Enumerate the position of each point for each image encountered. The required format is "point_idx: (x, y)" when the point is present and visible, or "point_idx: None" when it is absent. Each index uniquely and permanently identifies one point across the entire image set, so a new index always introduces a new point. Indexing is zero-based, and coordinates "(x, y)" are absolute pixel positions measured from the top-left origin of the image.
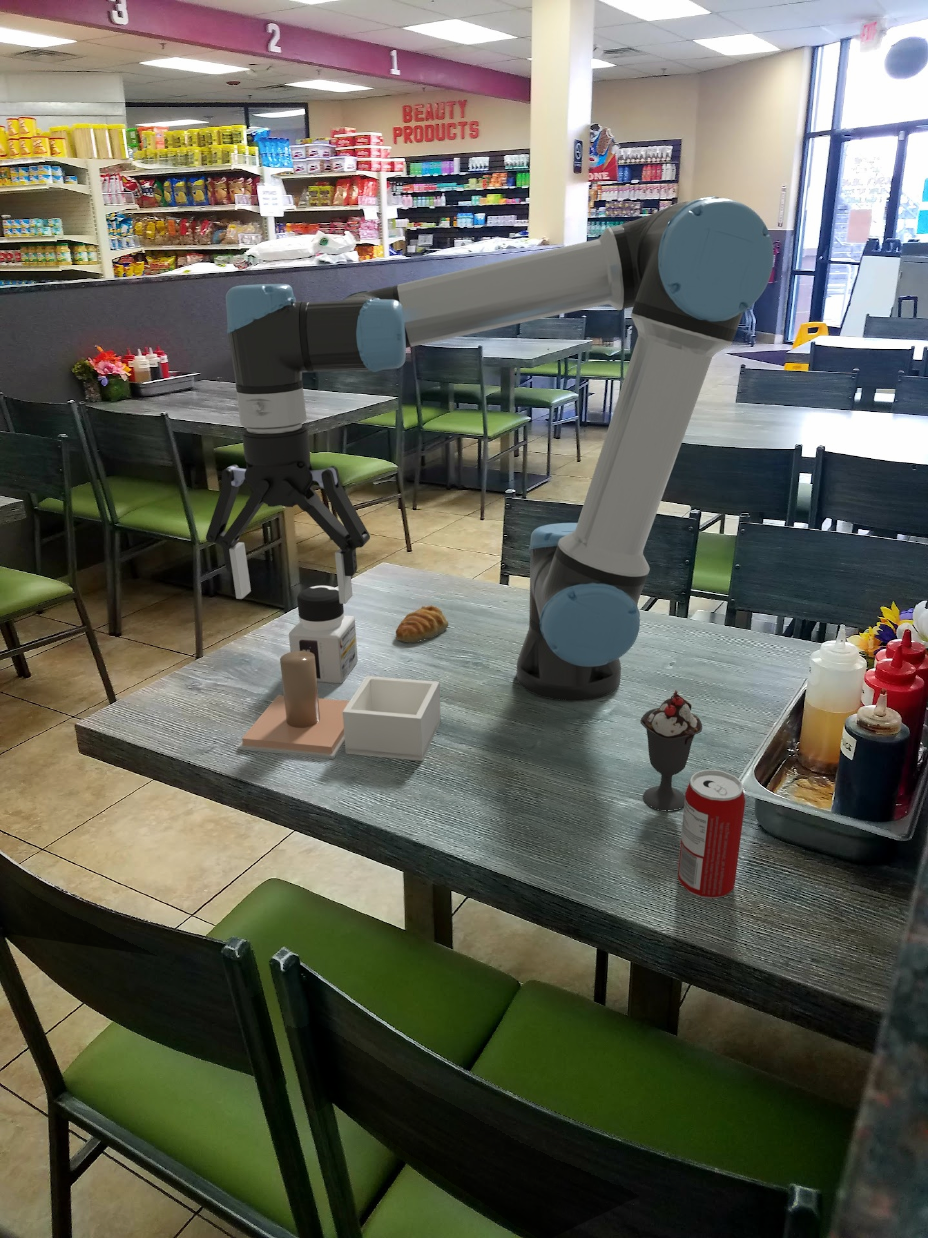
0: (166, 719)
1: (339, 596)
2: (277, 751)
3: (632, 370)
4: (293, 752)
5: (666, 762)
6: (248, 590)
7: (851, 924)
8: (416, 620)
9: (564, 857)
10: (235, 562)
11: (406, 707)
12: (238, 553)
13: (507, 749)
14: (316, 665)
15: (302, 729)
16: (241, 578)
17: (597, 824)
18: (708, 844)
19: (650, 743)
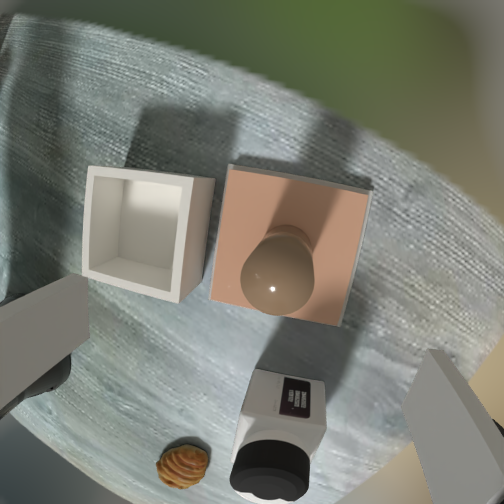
0: (473, 277)
1: (72, 283)
2: (312, 178)
3: None
4: (288, 173)
5: None
6: (409, 399)
7: None
8: (179, 468)
9: (37, 50)
10: (486, 435)
11: (141, 267)
12: (477, 480)
13: (54, 200)
14: (287, 389)
15: (281, 219)
16: (443, 402)
17: (14, 95)
18: None
19: None
